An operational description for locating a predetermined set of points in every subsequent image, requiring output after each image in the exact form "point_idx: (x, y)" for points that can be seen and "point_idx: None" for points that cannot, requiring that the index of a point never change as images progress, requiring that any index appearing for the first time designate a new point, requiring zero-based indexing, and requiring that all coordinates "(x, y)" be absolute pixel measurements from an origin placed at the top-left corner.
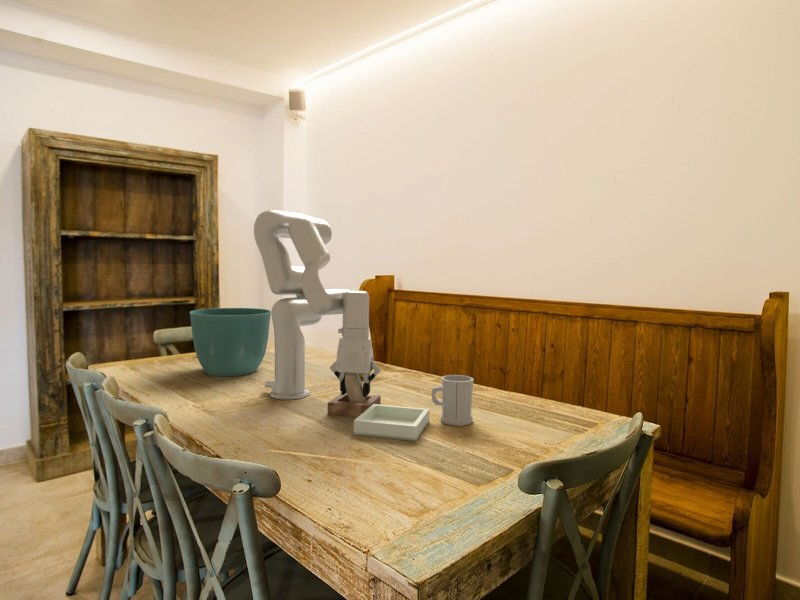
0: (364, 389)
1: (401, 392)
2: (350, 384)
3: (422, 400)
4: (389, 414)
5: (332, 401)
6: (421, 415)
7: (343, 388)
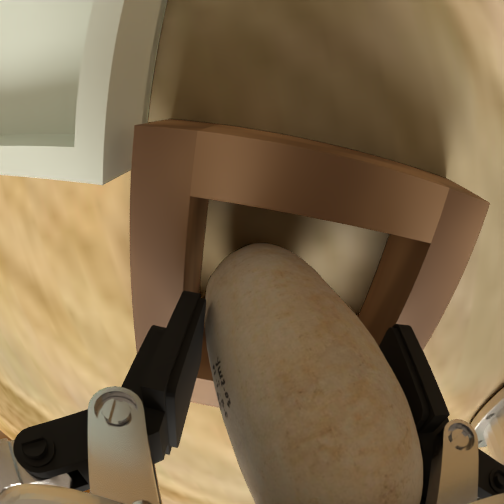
0: (172, 335)
1: (157, 466)
2: (349, 373)
3: (61, 401)
4: (36, 135)
5: (460, 226)
6: None
7: (407, 364)
